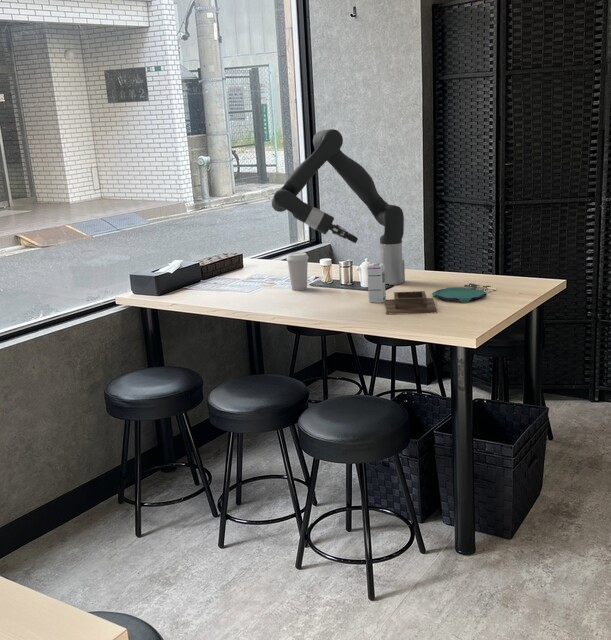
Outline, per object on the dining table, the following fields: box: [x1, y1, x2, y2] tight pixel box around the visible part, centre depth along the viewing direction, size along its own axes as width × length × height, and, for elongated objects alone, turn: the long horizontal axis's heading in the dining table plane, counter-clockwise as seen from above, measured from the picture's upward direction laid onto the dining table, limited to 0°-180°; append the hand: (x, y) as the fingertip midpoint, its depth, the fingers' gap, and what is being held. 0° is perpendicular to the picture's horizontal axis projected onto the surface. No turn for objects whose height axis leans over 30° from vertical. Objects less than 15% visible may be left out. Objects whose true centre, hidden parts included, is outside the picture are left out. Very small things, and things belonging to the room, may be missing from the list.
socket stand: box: [385, 290, 438, 315], centre depth 286 cm, size 18×18×5 cm
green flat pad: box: [431, 282, 492, 304], centre depth 302 cm, size 20×30×2 cm, turn 135°
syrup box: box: [366, 262, 387, 303], centre depth 298 cm, size 6×6×14 cm
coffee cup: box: [286, 252, 310, 291], centre depth 328 cm, size 10×10×15 cm
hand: (356, 240), depth 299 cm, fingers open, 8 cm apart
